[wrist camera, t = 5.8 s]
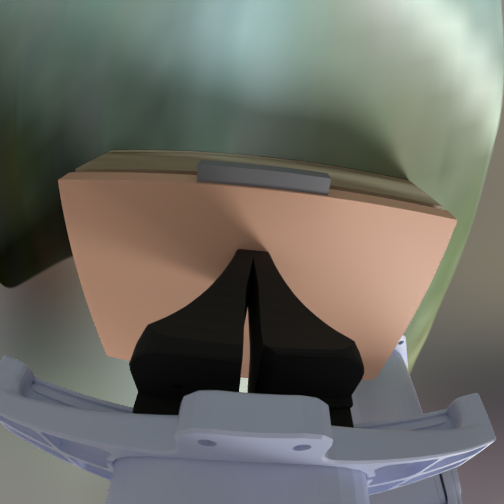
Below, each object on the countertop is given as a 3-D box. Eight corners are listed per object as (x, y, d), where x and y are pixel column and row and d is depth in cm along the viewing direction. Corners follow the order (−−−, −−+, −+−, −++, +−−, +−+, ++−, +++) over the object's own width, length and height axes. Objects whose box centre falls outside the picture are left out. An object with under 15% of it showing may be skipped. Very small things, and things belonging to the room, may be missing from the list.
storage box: (358, 327, 22) (370, 365, 18) (130, 306, 22) (112, 342, 18) (409, 180, 16) (441, 206, 12) (111, 150, 15) (75, 168, 12)
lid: (369, 371, 18) (371, 383, 18) (113, 348, 18) (108, 359, 17) (451, 197, 11) (462, 206, 11) (68, 158, 11) (55, 164, 10)
